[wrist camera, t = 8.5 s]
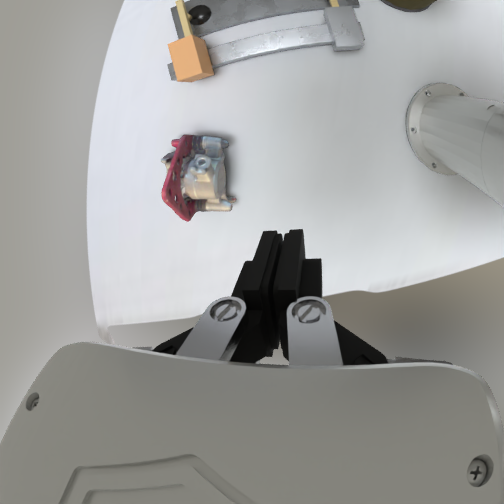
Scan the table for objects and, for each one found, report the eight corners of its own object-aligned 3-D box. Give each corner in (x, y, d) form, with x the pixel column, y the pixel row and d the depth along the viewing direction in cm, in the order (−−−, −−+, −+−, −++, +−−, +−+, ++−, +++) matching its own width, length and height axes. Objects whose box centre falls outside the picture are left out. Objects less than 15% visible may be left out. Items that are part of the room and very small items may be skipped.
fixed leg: (331, -29, 17) (333, -40, 14) (358, 50, 23) (364, 45, 20) (307, -27, 18) (307, -39, 15) (333, 52, 24) (337, 46, 21)
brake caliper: (146, 134, 33) (158, 146, 24) (222, 125, 37) (261, 136, 28) (154, 209, 39) (170, 248, 30) (222, 196, 43) (258, 228, 34)
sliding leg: (195, 0, 22) (179, -11, 18) (216, 75, 28) (202, 72, 24) (174, 8, 23) (156, -1, 19) (194, 82, 29) (177, 81, 25)
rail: (356, 25, 22) (359, 22, 21) (361, 42, 23) (364, 39, 22) (174, 65, 29) (167, 64, 27) (178, 80, 30) (171, 80, 29)
